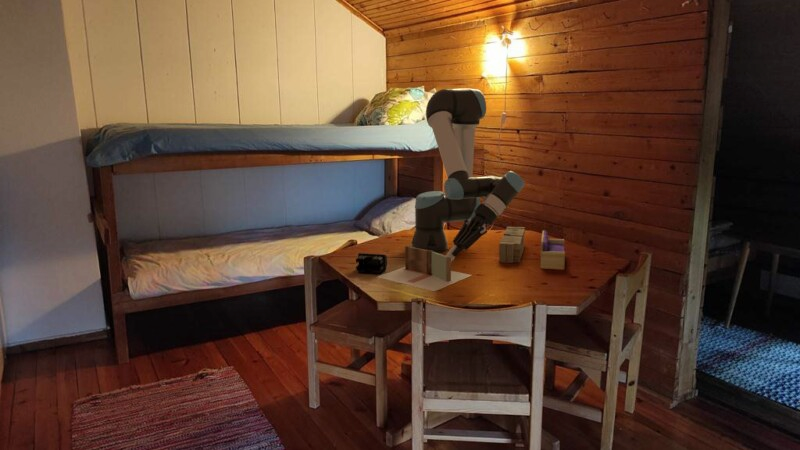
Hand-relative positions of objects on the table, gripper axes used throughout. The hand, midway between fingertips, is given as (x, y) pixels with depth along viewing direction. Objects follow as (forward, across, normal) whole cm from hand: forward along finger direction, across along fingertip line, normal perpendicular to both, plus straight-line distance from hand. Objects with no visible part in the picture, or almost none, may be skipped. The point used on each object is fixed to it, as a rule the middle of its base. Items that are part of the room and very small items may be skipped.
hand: (445, 261), depth 193 cm
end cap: (+19, +18, +10) cm, 28 cm away
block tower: (-23, +21, -33) cm, 45 cm away
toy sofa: (-28, +4, -38) cm, 47 cm away
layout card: (+9, +5, 0) cm, 10 cm away
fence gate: (+5, 0, -3) cm, 6 cm away
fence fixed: (+8, +10, 0) cm, 13 cm away
